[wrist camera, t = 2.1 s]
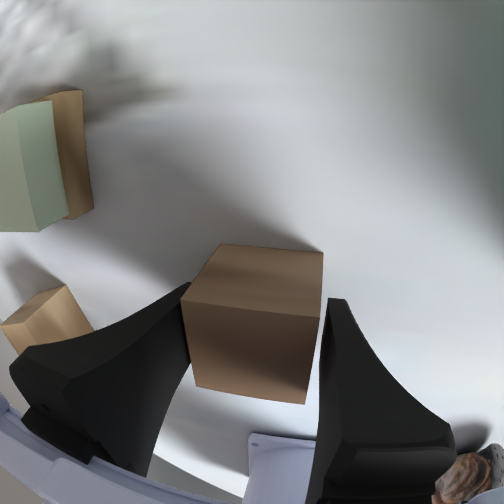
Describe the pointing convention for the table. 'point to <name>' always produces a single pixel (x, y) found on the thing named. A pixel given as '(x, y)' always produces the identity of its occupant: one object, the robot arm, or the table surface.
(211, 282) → the walnut cube
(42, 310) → the oak cube
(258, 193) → the table surface
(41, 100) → the slab bottom
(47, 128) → the slab top
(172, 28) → the table surface
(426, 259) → the table surface
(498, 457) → the bison figurine
